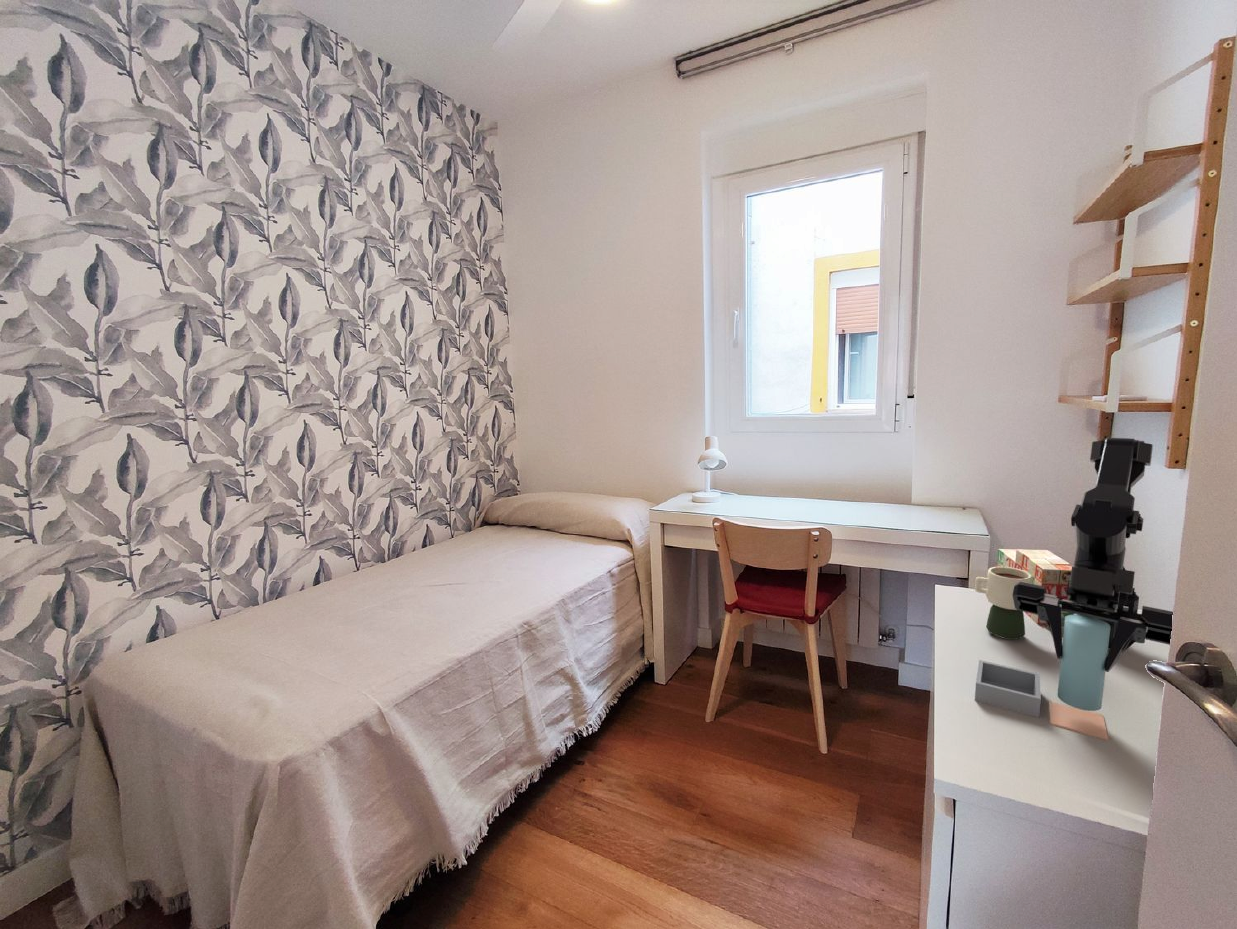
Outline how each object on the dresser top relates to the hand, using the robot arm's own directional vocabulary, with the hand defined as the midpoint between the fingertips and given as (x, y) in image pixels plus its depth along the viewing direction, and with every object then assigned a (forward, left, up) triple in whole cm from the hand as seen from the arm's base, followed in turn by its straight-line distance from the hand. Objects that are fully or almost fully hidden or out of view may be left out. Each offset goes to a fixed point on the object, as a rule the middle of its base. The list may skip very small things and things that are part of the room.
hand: (1082, 664), depth 78 cm
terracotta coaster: (-1, 0, -10) cm, 10 cm away
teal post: (-1, 0, -6) cm, 7 cm away
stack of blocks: (-47, -5, -10) cm, 48 cm away
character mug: (-28, -9, -10) cm, 31 cm away
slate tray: (-3, -8, -10) cm, 13 cm away
